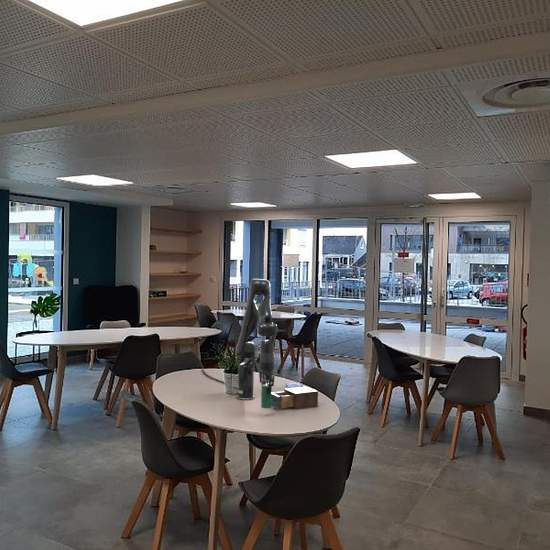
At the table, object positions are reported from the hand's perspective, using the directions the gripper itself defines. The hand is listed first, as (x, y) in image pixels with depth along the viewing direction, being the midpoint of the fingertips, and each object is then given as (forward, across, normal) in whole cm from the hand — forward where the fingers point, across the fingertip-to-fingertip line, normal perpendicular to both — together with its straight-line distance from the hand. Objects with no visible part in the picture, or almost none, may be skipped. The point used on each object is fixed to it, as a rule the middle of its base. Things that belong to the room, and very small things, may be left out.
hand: (266, 392), depth 281 cm
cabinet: (+12, +12, -28) cm, 33 cm away
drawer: (+11, +12, -15) cm, 22 cm away
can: (+8, 0, 0) cm, 8 cm away
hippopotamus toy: (+12, +30, -34) cm, 47 cm away
